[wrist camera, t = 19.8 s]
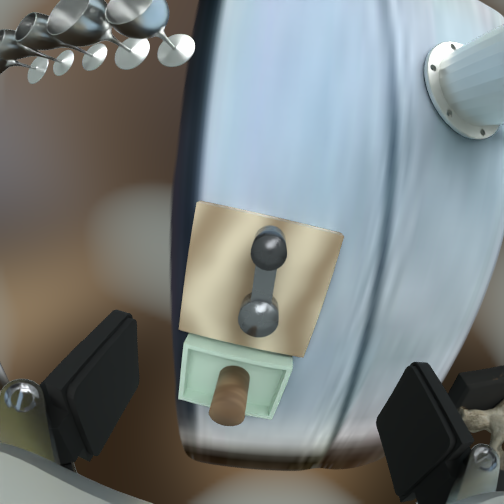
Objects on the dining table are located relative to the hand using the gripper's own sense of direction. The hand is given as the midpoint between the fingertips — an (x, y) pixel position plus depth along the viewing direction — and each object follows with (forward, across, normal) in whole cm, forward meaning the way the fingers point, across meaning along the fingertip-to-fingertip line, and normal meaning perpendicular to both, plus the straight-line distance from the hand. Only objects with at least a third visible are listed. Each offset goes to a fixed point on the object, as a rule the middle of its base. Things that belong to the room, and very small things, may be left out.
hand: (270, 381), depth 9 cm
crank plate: (+22, +1, +6) cm, 23 cm away
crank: (+20, 0, +4) cm, 21 cm away
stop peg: (+22, +1, +19) cm, 29 cm away
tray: (+22, +1, +20) cm, 30 cm away
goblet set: (+23, +26, -18) cm, 39 cm away
